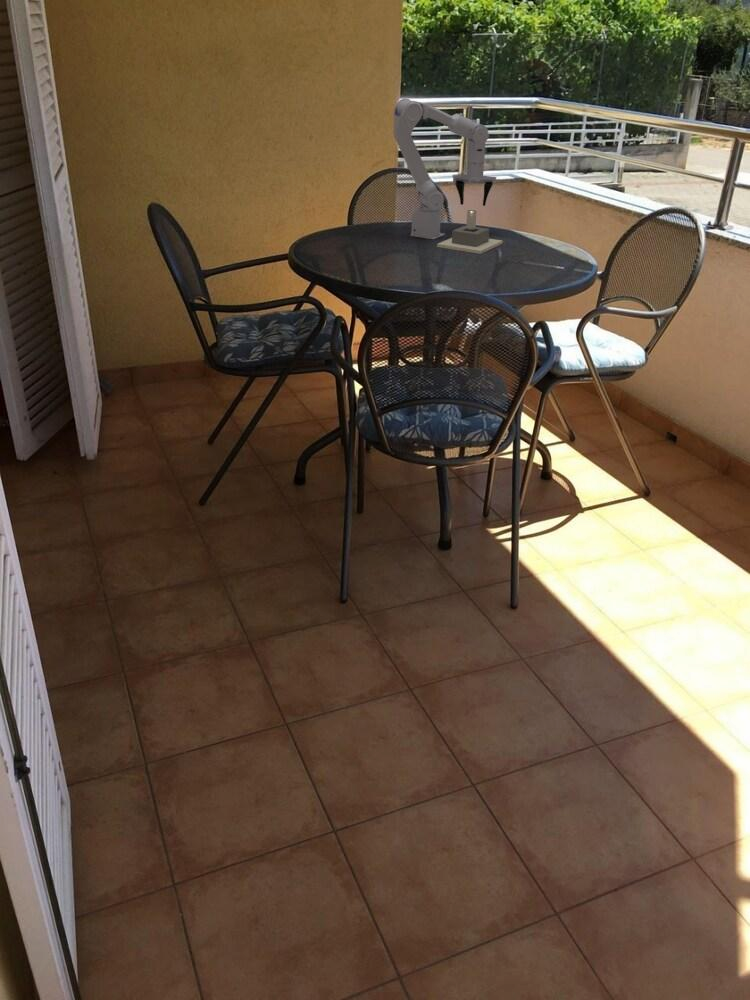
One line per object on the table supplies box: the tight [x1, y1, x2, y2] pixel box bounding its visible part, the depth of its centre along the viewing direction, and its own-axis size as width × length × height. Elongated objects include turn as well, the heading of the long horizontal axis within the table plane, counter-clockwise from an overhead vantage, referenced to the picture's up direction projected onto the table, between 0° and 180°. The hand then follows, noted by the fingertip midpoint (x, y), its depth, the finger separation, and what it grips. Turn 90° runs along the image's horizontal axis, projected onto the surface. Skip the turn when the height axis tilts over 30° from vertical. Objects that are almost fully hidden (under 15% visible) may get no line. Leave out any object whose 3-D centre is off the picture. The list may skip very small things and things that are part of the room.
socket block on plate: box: [436, 224, 504, 255], centre depth 274 cm, size 16×16×5 cm
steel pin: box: [466, 209, 478, 232], centre depth 272 cm, size 3×3×10 cm
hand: (473, 204), depth 286 cm, fingers open, 7 cm apart
